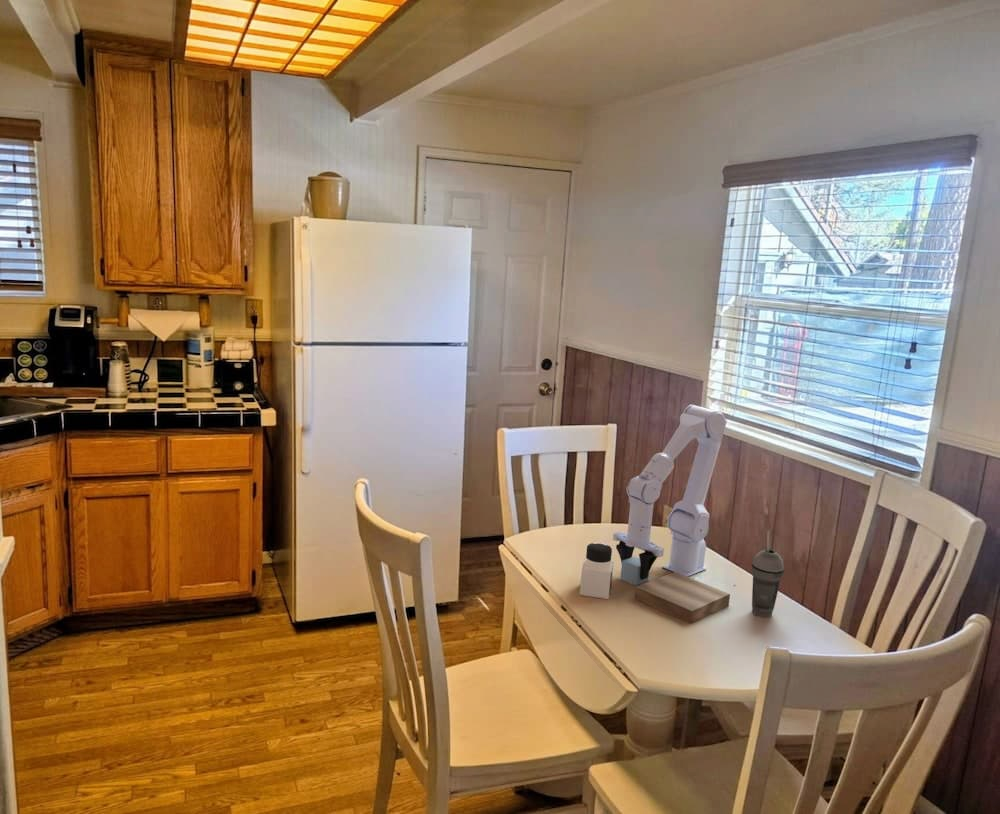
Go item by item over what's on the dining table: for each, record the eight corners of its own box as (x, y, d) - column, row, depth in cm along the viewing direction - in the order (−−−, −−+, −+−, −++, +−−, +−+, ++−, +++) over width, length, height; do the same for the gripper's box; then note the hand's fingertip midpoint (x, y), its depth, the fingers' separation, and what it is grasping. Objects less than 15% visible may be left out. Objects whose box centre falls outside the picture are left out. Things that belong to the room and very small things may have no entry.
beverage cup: (762, 622, 175) (773, 539, 171) (739, 609, 181) (749, 529, 178) (784, 617, 178) (796, 536, 175) (761, 604, 184) (771, 526, 181)
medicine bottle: (609, 599, 182) (613, 552, 180) (579, 595, 183) (583, 548, 181) (611, 588, 189) (615, 542, 187) (582, 584, 190) (586, 538, 188)
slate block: (632, 574, 198) (634, 556, 197) (648, 581, 194) (650, 562, 194) (620, 578, 195) (622, 560, 194) (636, 585, 191) (637, 566, 190)
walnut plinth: (673, 582, 194) (674, 571, 194) (728, 605, 183) (730, 593, 182) (634, 598, 184) (635, 586, 183) (690, 623, 172) (692, 610, 171)
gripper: (607, 518, 194) (602, 568, 197) (653, 535, 184) (648, 588, 186) (624, 514, 199) (620, 563, 202) (670, 530, 189) (665, 581, 191)
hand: (634, 574), depth 194 cm, fingers closed on slate block, 5 cm apart
